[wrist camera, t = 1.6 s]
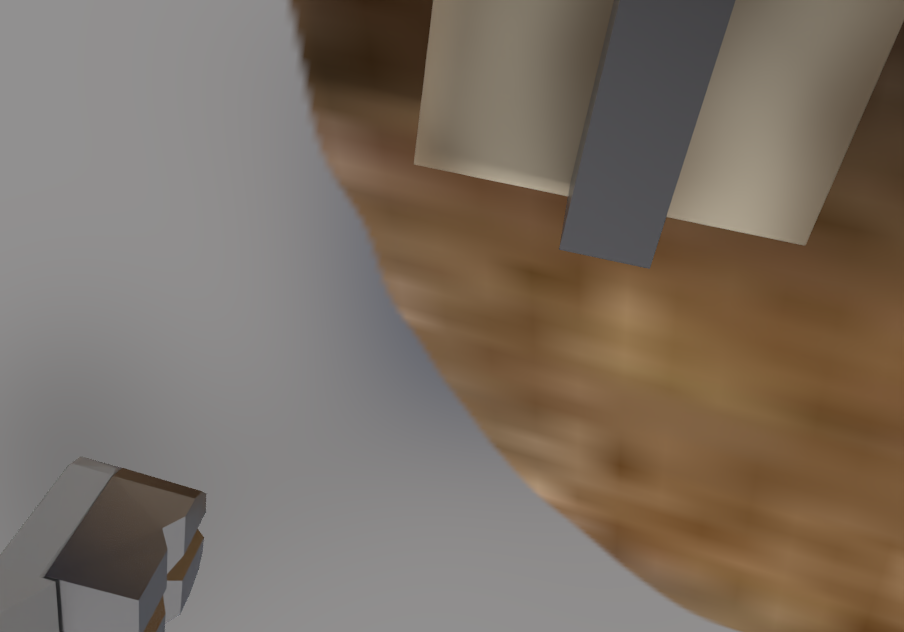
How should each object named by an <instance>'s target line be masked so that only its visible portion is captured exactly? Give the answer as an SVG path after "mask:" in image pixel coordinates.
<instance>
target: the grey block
mask: <svg viewBox="0 0 904 632" xmlns="http://www.w3.org/2000/svg"><path fill="white" fill-rule="evenodd" d="M735 1H736V0H614V2H613V7H612V11H611V15H610V19H609V23H608V27H607V32H606V36H605V40H604V44H603V48H602V53H601V57H600V61H599V65H598V69H597V73H596V78H595V82H594V86H593V90H592V94H591V98H590V103H589V107H588V111H587V115H586V119H585V124H584V128H583V132H582V136H581V140H580V144H579V149H578V153H577V157H576V161H575V165H574V169H573V174H572V178H571V182H570V187H569V193H568V199H567V205H566V211H565V217H564V223H563V229H562V235H561V242H560V248H559V250H564V251H569V252H573V253H578V254H583V255H587V256H592V257H597V258H602V259H606V260H611V261H616V262H620V263H625V264H630V265H634V266H639V267H644V268H649V269H650V266H651V263H652V260H653V257H654V254H655V250H656V247H657V244H658V241H659V238H660V235H661V232H662V229H663V225H664V222H665V219H666V216H667V213H668V210H669V207H670V204H671V201H672V197H673V194H674V191H675V188H676V185H677V182H678V179H679V176H680V172H681V169H682V166H683V163H684V160H685V157H686V154H687V151H688V147H689V144H690V141H691V138H692V135H693V132H694V129H695V126H696V122H697V119H698V116H699V113H700V110H701V107H702V104H703V101H704V97H705V94H706V91H707V88H708V85H709V82H710V79H711V76H712V73H713V69H714V66H715V63H716V60H717V57H718V54H719V51H720V48H721V44H722V41H723V38H724V35H725V32H726V29H727V26H728V23H729V19H730V16H731V13H732V10H733V7H734V4H735Z"/></svg>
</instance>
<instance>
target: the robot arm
mask: <svg viewBox="0 0 904 632" xmlns="http://www.w3.org/2000/svg"><path fill="white" fill-rule="evenodd" d="M205 513H206V493H204V492H202V491H199V490H196V489H192V488H189V487H186V486H182V485H179V484H175V483H172V482H169V481H165V480H162V479H158V478H155V477H151V476H148V475H144V474H142V473H138V472H135V471H131V470H128V469H125V468H121V467H117V466H113V465H110V464H106V463H103V462H99V461H96V460H92V459H89V458H85V457H79V458H78V459H76V460H75V461H74V462H72V463H71V464H69V465H68V466H67V467H66V469H65V470H64V471H63V473H62V474H61V475H60V476H59V478H58V479H57V480H56V482H55V483H54V484H53V486H52V487H51V488H50V490H49V491H48V492H47V494H46V495H45V496H44V498H43V499H42V500H41V502H40V503H39V504H38V506H37V507H36V508H35V509H34V511H33V512H32V513H31V515H30V516H29V517H28V519H27V520H26V522H25V523H24V524H23V525H22V527H21V528H20V529H19V531H18V532H17V533H16V535H15V536H14V537H13V539H12V540H11V541H10V543H9V544H8V545H7V546H6V548H5V549H4V550H3V552H2V553H1V554H0V632H165V624H166V623H167V622H169V621H170V620H172V619H174V618H175V617H177V616H179V615H180V614H181V612H182V610H183V607H184V605H185V603H186V601H187V599H188V597H189V595H190V592H191V589H192V587H193V584H194V581H195V578H196V575H197V573H198V570H199V566H200V561H201V557H202V552H203V542H204V537H203V536H202V534H201V533H200V532H199V530H198V527H199V525H200V523H201V521H202V519H203V517H204V515H205Z"/></svg>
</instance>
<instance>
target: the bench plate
mask: <svg viewBox="0 0 904 632" xmlns="http://www.w3.org/2000/svg"><path fill="white" fill-rule="evenodd" d="M613 2H614V0H433V7H432V15H431V23H430V32H429V40H428V49H427V57H426V65H425V74H424V82H423V91H422V99H421V107H420V116H419V124H418V133H417V141H416V149H415V158H414V164H415V165H420V166H424V167H429V168H434V169H439V170H444V171H448V172H453V173H458V174H463V175H468V176H472V177H477V178H482V179H487V180H492V181H496V182H501V183H506V184H511V185H516V186H521V187H525V188H530V189H535V190H540V191H545V192H549V193H554V194H559V195H564V196H568V193H569V187H570V182H571V178H572V174H573V169H574V165H575V161H576V157H577V153H578V149H579V144H580V140H581V136H582V132H583V128H584V124H585V119H586V115H587V111H588V107H589V103H590V98H591V94H592V90H593V86H594V82H595V78H596V73H597V69H598V65H599V61H600V57H601V53H602V48H603V44H604V40H605V36H606V32H607V27H608V23H609V19H610V15H611V11H612V7H613ZM903 21H904V0H736V1H735V4H734V7H733V10H732V13H731V16H730V19H729V23H728V26H727V29H726V32H725V35H724V38H723V41H722V44H721V48H720V51H719V54H718V57H717V60H716V63H715V66H714V69H713V73H712V76H711V79H710V82H709V85H708V88H707V91H706V94H705V97H704V101H703V104H702V107H701V110H700V113H699V116H698V119H697V122H696V126H695V129H694V132H693V135H692V138H691V141H690V144H689V147H688V151H687V154H686V157H685V160H684V163H683V166H682V169H681V172H680V176H679V179H678V182H677V185H676V188H675V191H674V194H673V197H672V201H671V204H670V207H669V210H668V213H667V216H666V217H670V218H675V219H679V220H684V221H689V222H694V223H699V224H703V225H708V226H713V227H718V228H723V229H727V230H732V231H737V232H742V233H747V234H751V235H756V236H761V237H766V238H771V239H776V240H780V241H785V242H790V243H795V244H800V245H804V246H805V245H806V243H807V240H808V238H809V236H810V233H811V231H812V229H813V227H814V224H815V222H816V220H817V218H818V215H819V213H820V211H821V208H822V206H823V204H824V202H825V199H826V197H827V195H828V192H829V190H830V188H831V186H832V183H833V181H834V179H835V176H836V174H837V172H838V170H839V167H840V165H841V163H842V160H843V158H844V156H845V154H846V151H847V149H848V147H849V144H850V142H851V140H852V138H853V135H854V133H855V131H856V129H857V126H858V124H859V122H860V119H861V117H862V115H863V113H864V110H865V108H866V106H867V103H868V101H869V99H870V97H871V94H872V92H873V90H874V87H875V85H876V83H877V81H878V78H879V76H880V74H881V71H882V69H883V67H884V65H885V62H886V60H887V58H888V55H889V53H890V51H891V49H892V46H893V44H894V42H895V40H896V37H897V35H898V33H899V30H900V28H901V26H902V24H903Z"/></svg>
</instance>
